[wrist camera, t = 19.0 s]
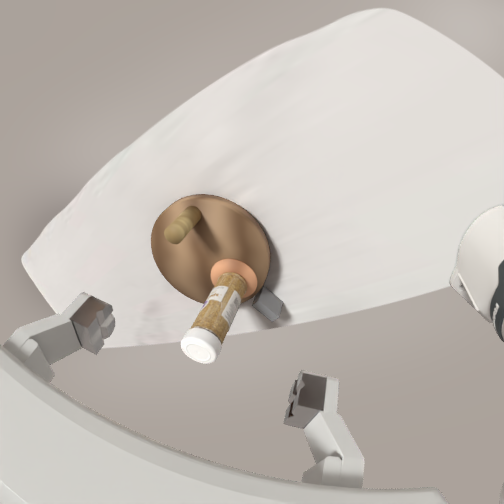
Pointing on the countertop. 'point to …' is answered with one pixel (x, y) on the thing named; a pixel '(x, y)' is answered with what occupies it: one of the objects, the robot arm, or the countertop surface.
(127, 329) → the countertop surface
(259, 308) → the grey polygonal block
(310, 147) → the countertop surface
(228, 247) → the wooden peg stand
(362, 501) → the robot arm
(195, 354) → the sprinkles bottle
